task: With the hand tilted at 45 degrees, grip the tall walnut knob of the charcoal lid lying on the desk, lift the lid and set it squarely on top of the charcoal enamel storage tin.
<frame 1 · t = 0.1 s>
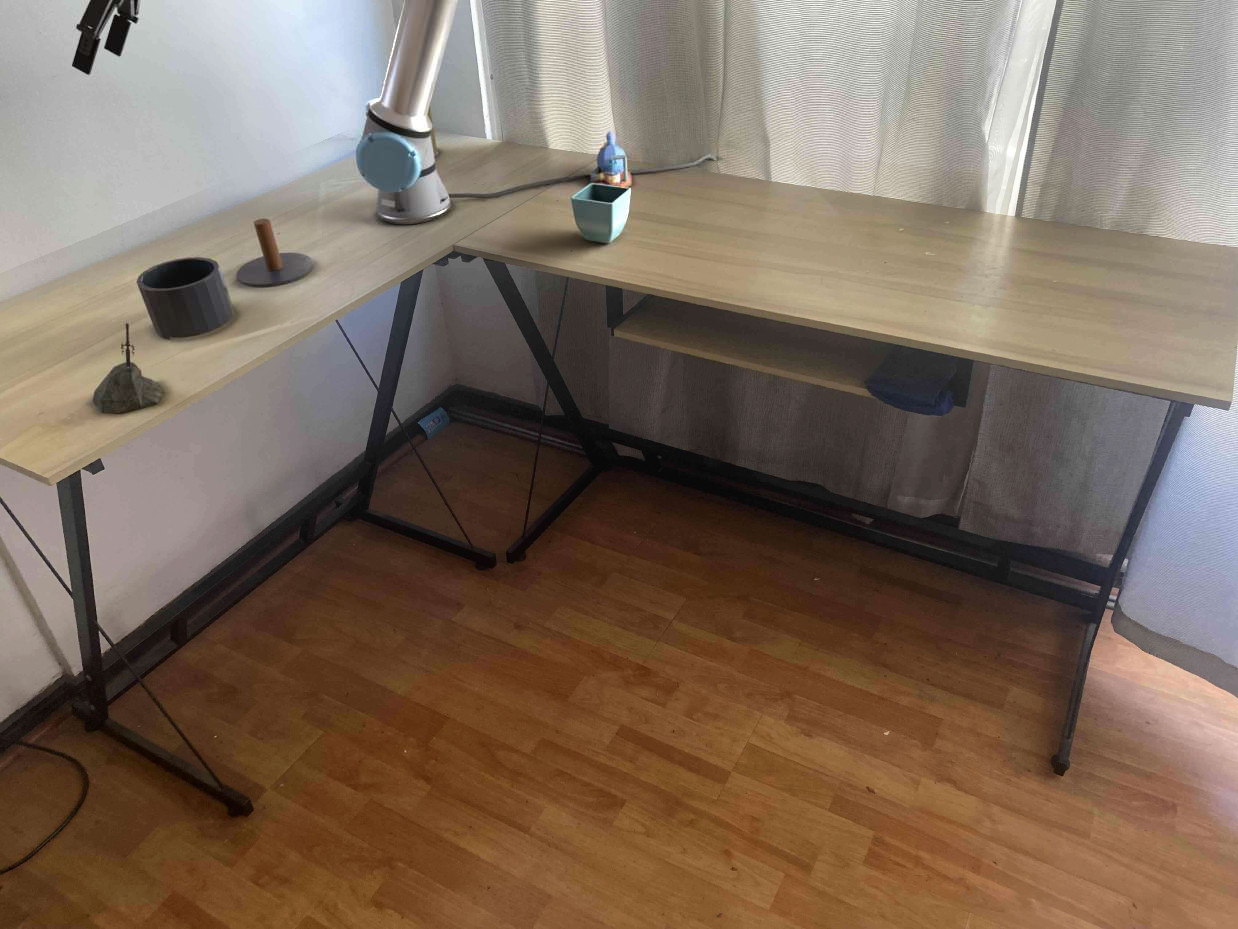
hand: (97, 60, 160), 36 cm above the table, tool tilted 35°, fingers open, 13 cm apart
model: (610, 181, 203), on the table
lid: (275, 270, 171), point 1 cm above the table
sword in stone: (128, 400, 137), on the table
canister: (417, 155, 224), on the table
flower pot: (603, 238, 178), on the table
tin: (195, 322, 157), on the table
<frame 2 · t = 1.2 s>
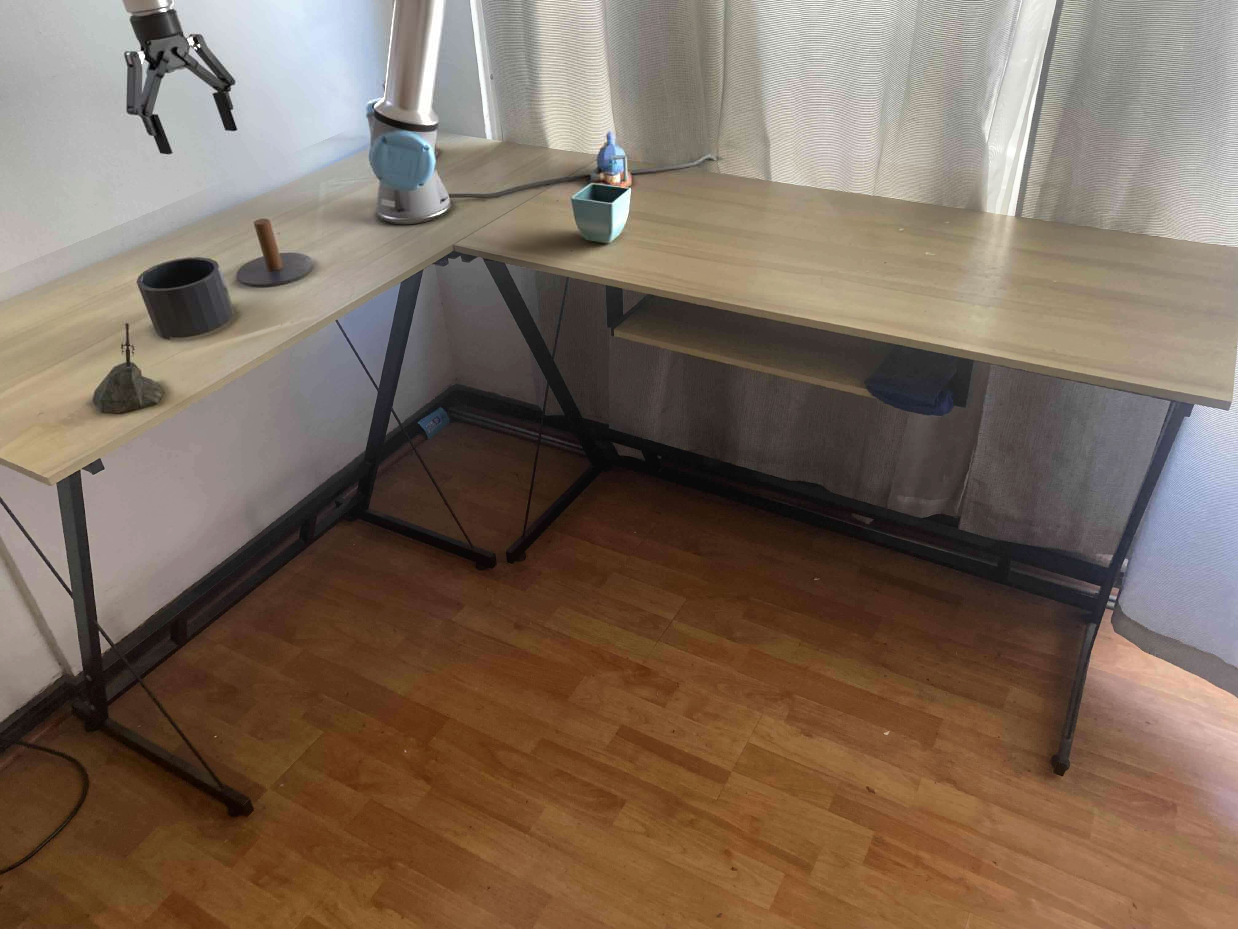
hand: (199, 141, 164), 23 cm above the table, tool pointing down, fingers open, 13 cm apart
nothing on the table moved.
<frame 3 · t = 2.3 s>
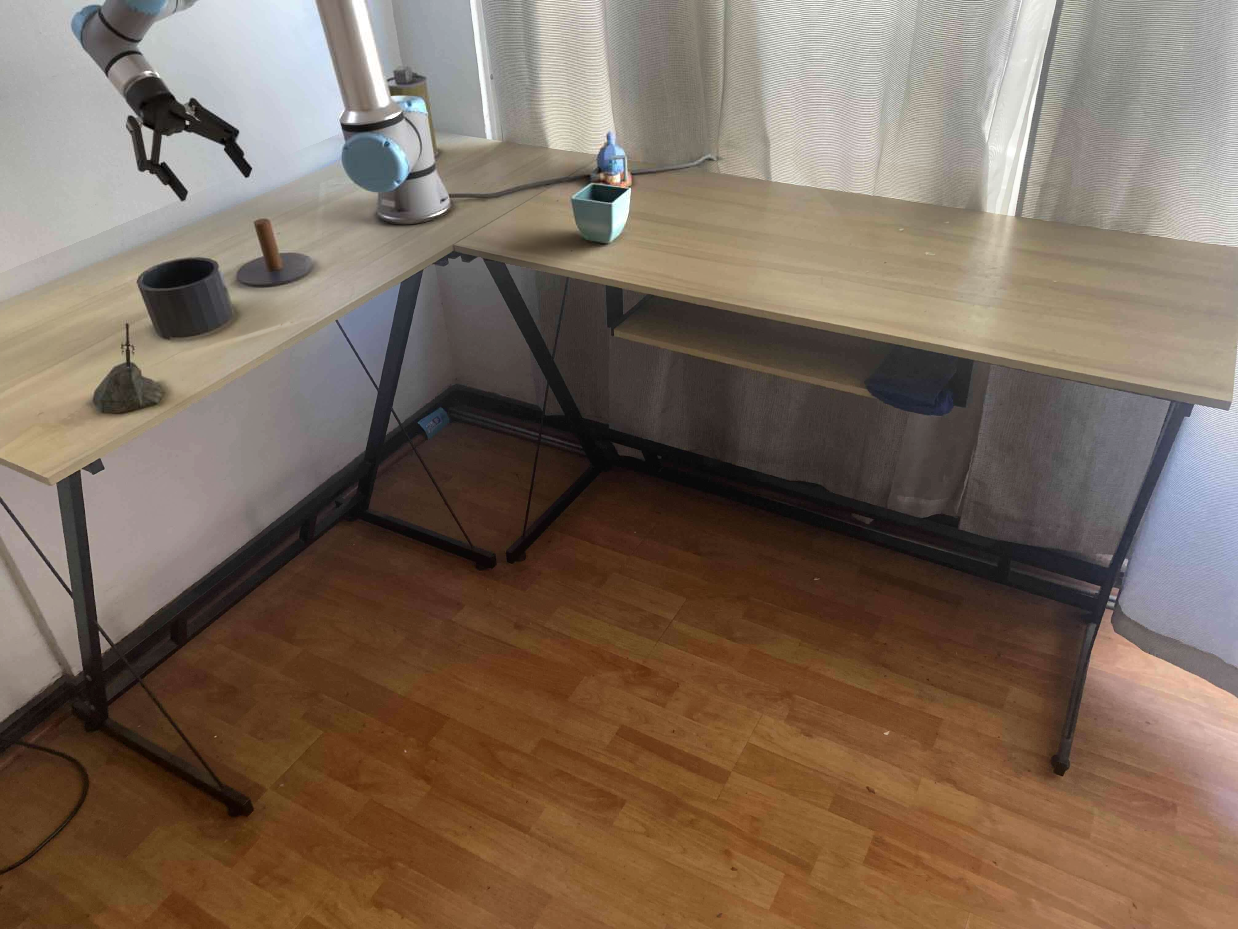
hand: (218, 184, 167), 15 cm above the table, tool tilted 45°, fingers open, 13 cm apart
nothing on the table moved.
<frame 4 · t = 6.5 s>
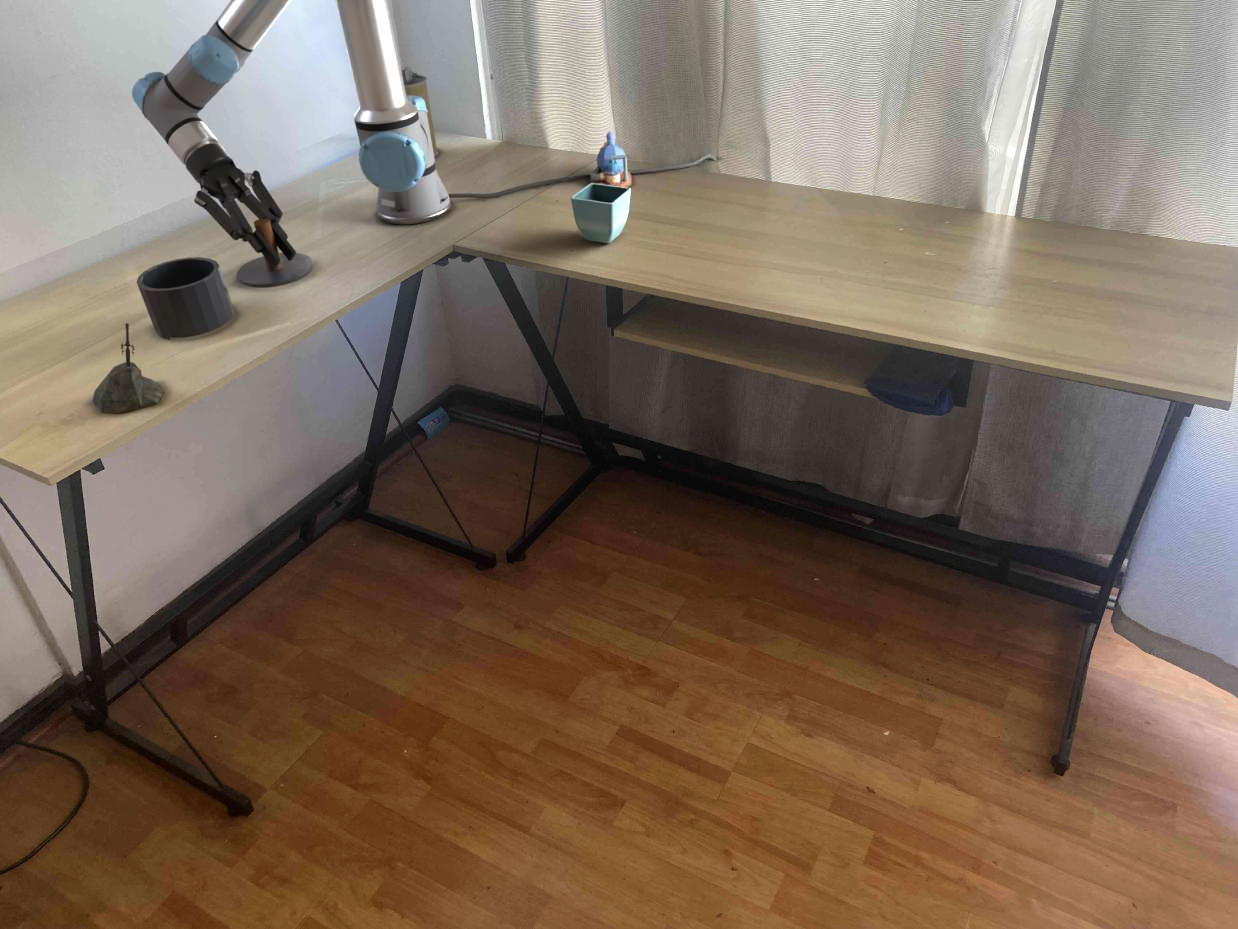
hand: (284, 259, 167), 4 cm above the table, tool tilted 45°, fingers closed on lid, 3 cm apart
lid: (275, 270, 171), point 1 cm above the table, touching gripper
everything else where it was.
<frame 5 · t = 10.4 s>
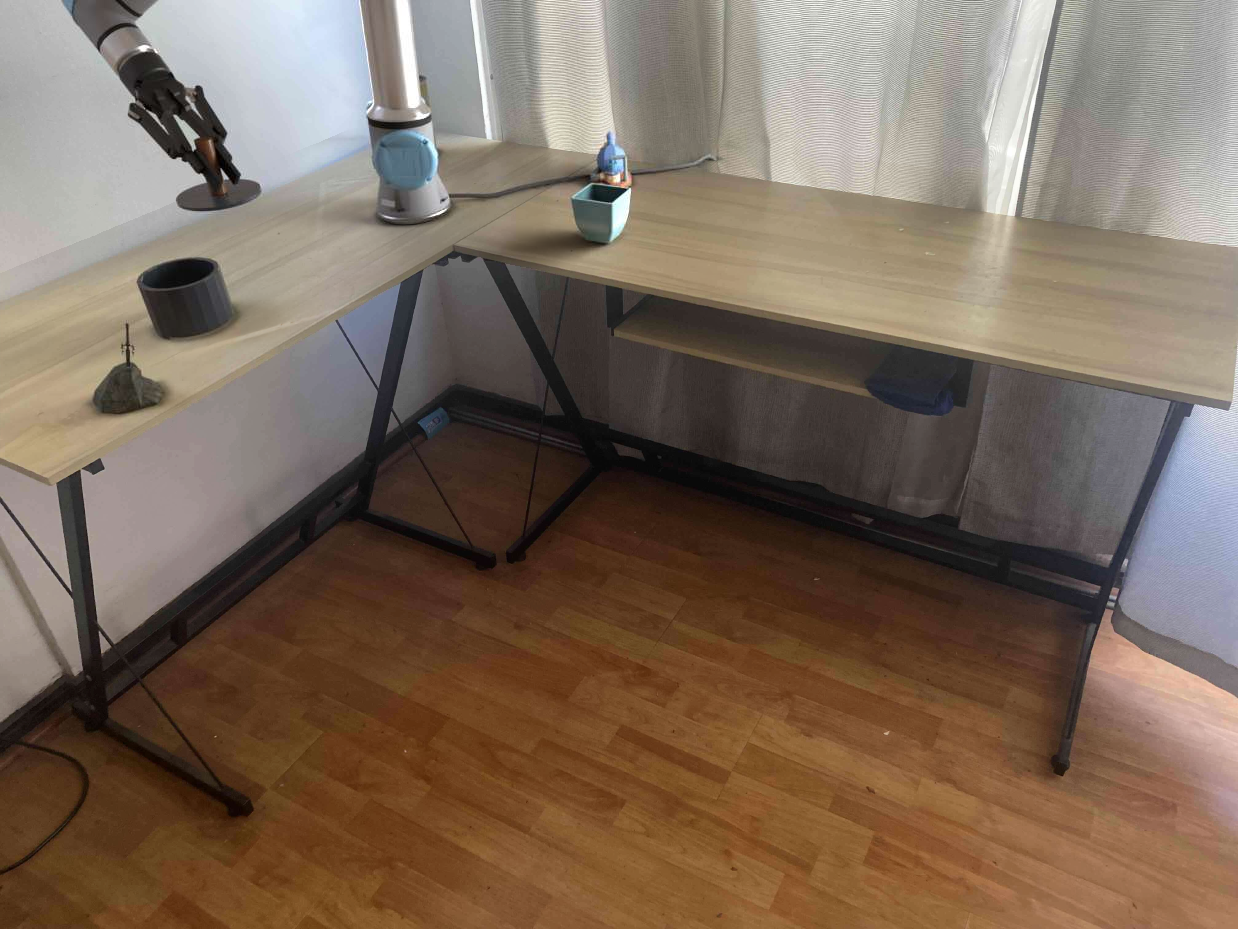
hand: (228, 182, 152), 20 cm above the table, tool tilted 45°, fingers closed on lid, 3 cm apart
lid: (219, 196, 156), point 17 cm above the table, touching gripper
everything else where it was.
when the fingers open (12 cm above the table, at t = 14.5 s): lid stays where it is, resting on tin.
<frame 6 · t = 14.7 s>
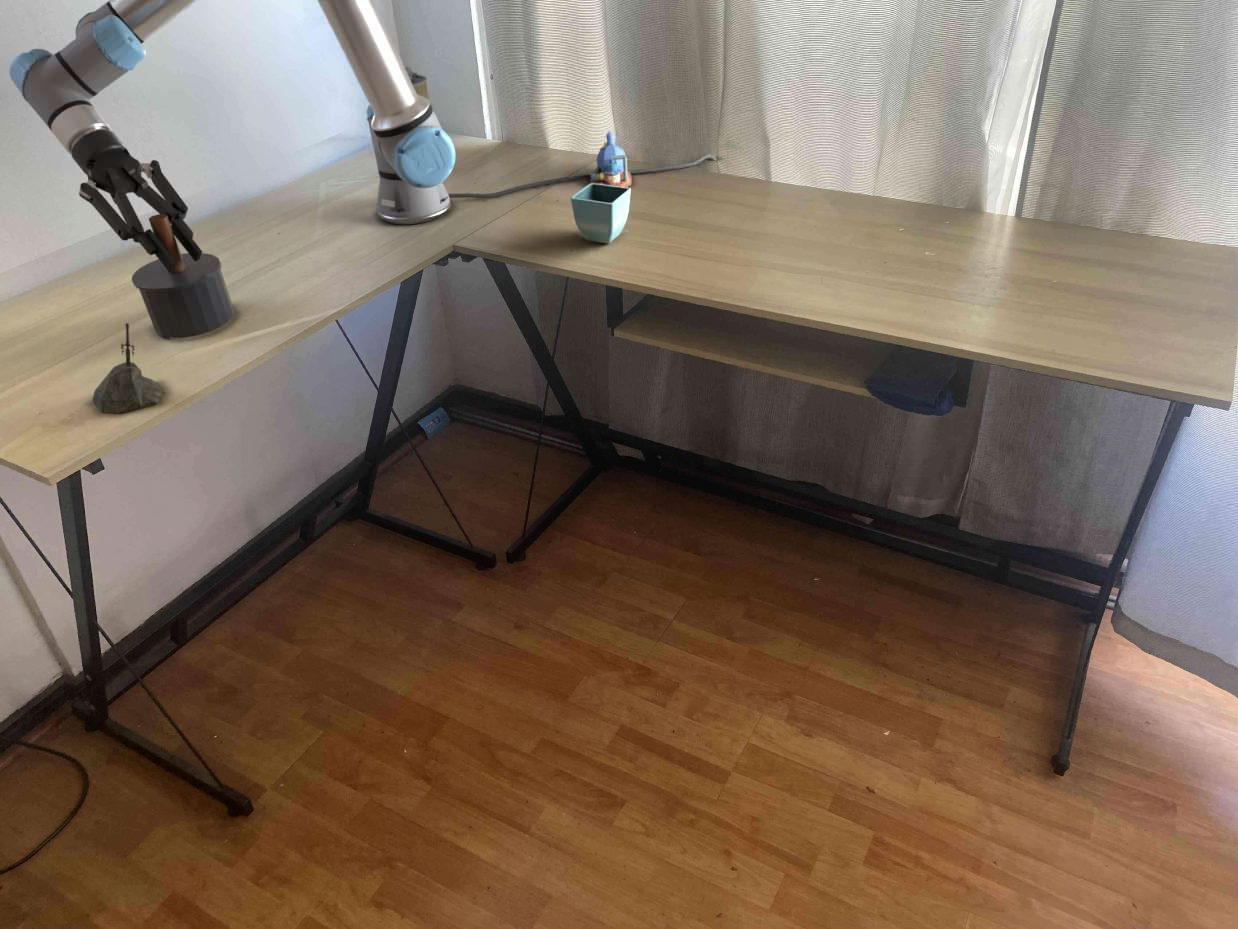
hand: (185, 261, 148), 12 cm above the table, tool tilted 45°, fingers open, 4 cm apart
lid: (177, 273, 151), point 9 cm above the table, touching tin
everything else where it was.
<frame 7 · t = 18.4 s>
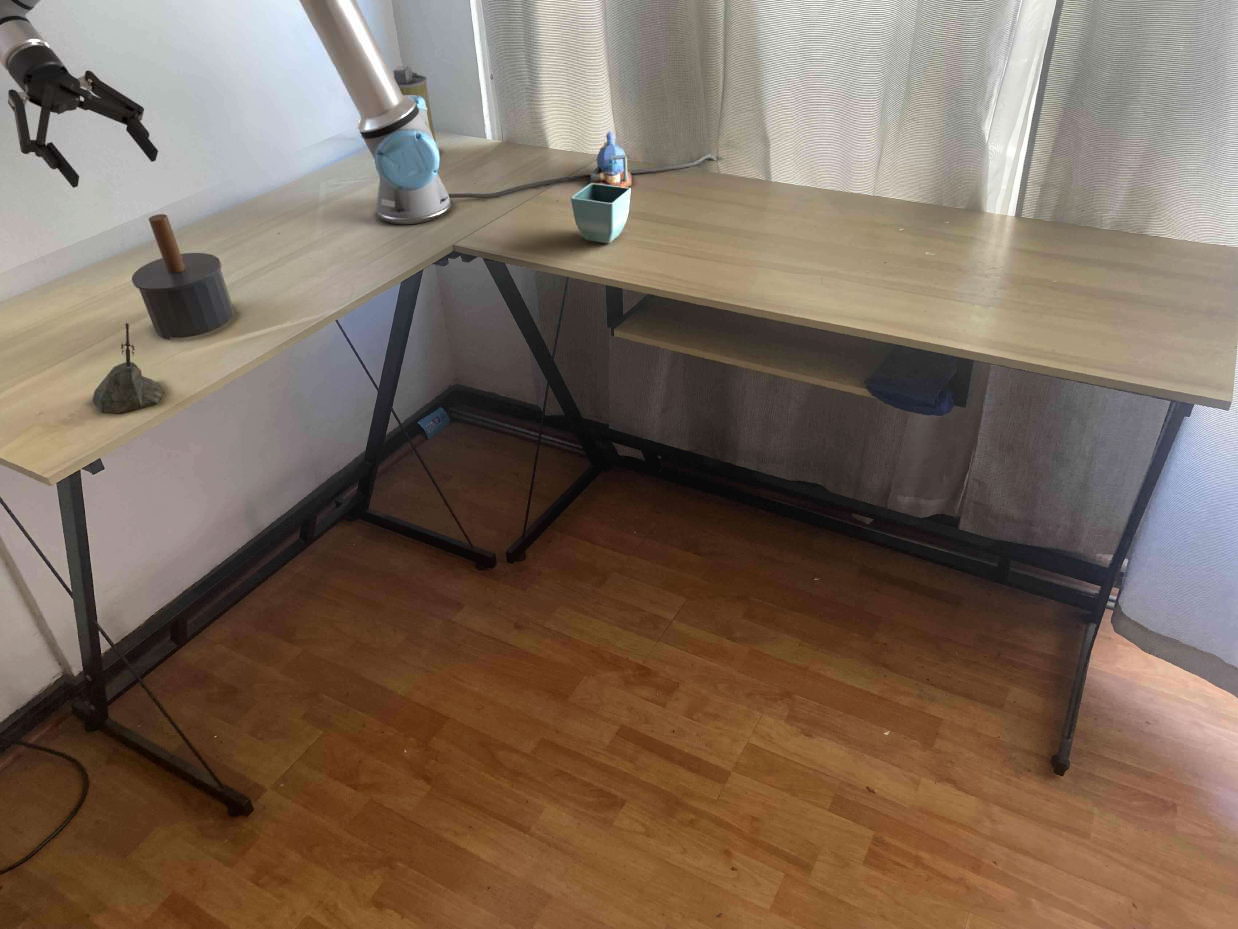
hand: (116, 169, 147), 25 cm above the table, tool tilted 45°, fingers open, 13 cm apart
nothing on the table moved.
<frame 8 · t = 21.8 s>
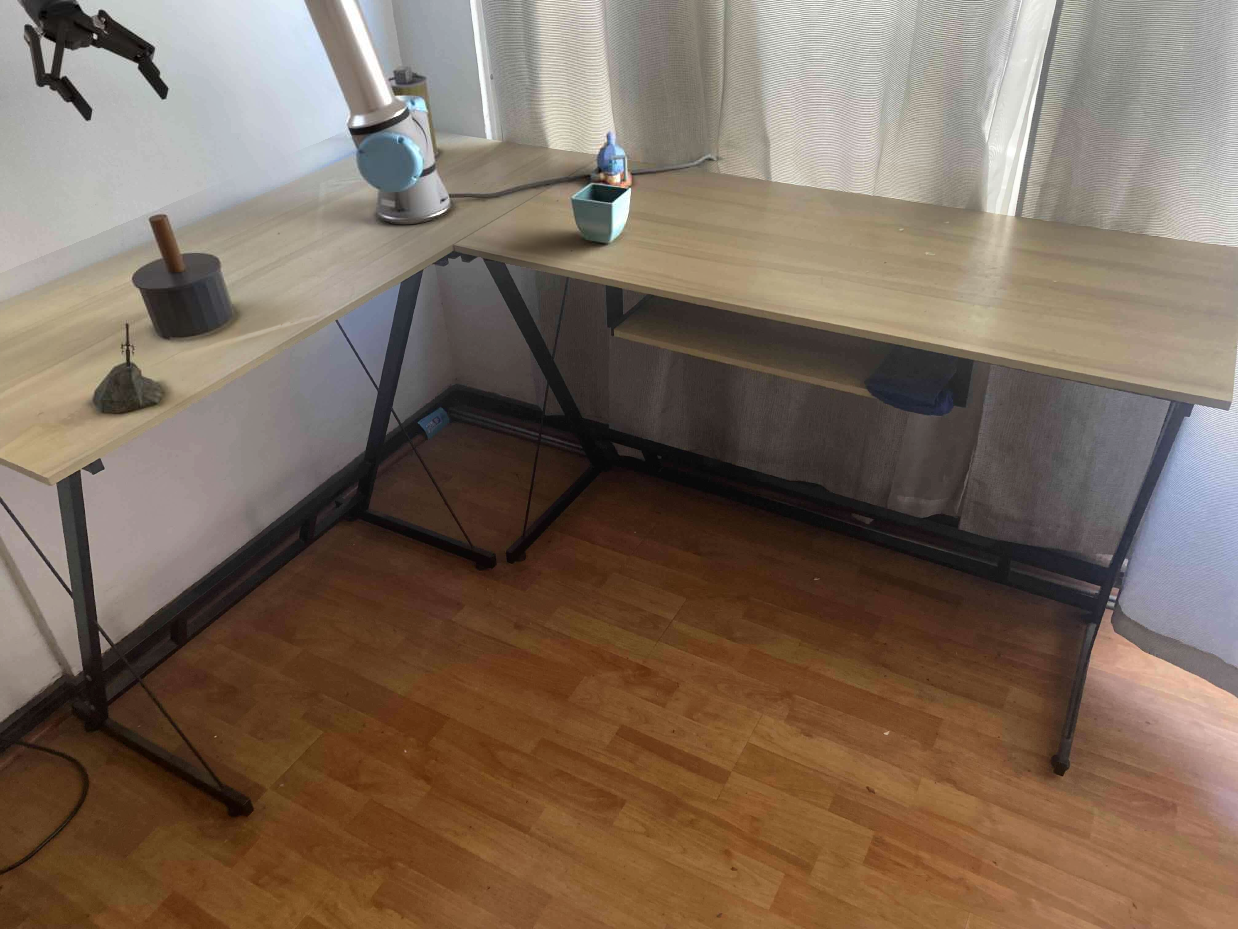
hand: (128, 104, 151), 32 cm above the table, tool tilted 45°, fingers open, 13 cm apart
nothing on the table moved.
at the end: lid 0.1 cm off-centre on the tin, point 9.0 cm above the tin's base; lid tilted 0°; the gripper is holding nothing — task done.
